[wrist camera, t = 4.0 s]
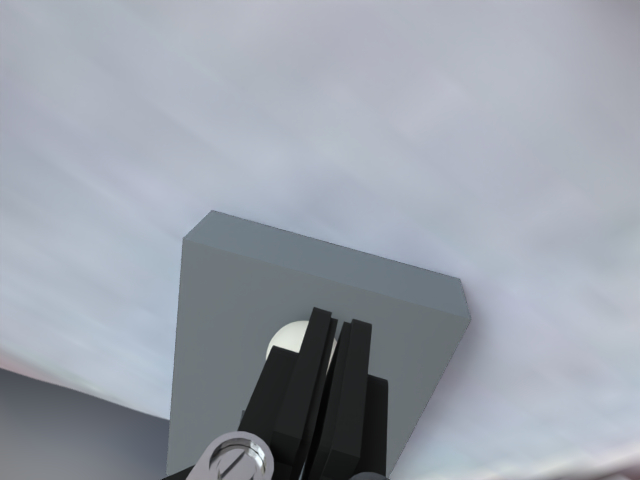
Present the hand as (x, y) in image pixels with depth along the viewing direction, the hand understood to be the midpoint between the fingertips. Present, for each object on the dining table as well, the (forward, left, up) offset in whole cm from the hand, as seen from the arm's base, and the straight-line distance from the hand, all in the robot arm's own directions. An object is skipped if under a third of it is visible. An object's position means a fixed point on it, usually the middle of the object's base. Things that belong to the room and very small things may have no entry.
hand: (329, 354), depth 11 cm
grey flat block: (+15, -1, -14) cm, 20 cm away
